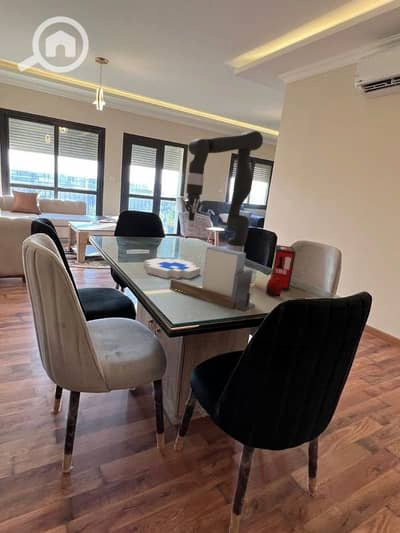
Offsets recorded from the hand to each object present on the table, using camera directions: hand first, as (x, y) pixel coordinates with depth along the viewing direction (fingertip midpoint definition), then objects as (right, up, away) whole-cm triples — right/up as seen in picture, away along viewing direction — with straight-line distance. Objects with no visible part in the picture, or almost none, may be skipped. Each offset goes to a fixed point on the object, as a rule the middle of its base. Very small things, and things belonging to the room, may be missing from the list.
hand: (191, 220), depth 153 cm
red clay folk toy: (+38, -36, -6) cm, 53 cm away
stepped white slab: (-11, -25, +18) cm, 33 cm away
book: (+13, -36, -19) cm, 43 cm away
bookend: (+22, -38, -26) cm, 51 cm away
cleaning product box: (+45, -32, +12) cm, 57 cm away
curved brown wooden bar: (+8, -34, -16) cm, 39 cm away
